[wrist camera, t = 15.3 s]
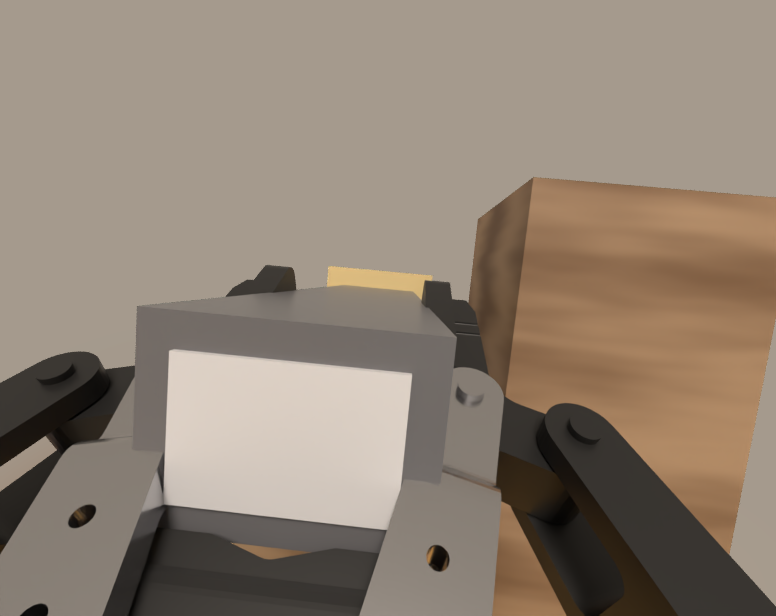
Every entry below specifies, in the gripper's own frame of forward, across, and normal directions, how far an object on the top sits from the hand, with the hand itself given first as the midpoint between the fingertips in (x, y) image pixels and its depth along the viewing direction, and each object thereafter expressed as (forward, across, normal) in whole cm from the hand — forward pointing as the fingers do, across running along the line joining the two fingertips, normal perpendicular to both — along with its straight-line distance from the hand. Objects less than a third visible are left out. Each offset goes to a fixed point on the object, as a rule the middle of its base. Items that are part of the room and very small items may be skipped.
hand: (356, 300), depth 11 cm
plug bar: (+3, 0, +5) cm, 5 cm away
